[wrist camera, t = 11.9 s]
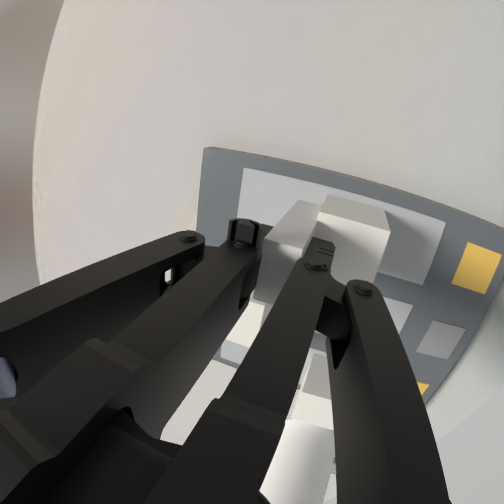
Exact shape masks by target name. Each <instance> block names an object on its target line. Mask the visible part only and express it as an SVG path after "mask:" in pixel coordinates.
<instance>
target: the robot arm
mask: <svg viewBox="0 0 504 504" xmlns="http://www.w3.org/2000/svg"><path fill="white" fill-rule="evenodd" d="M321 207H322V206H321V205H318V204H314V203H310V202H306V201H303V200H298V201H297V202H296V203H295V204H294V205H293V206H292V208H291V209H290V210H289V211H288V212H287V213H286V214H285V215H284V216H283V218H282V219H281V220H280V221H279V222H278V223H277V224H276V225H275V226H270V225H266V224H263V223H262V224H260V223H258V222H256V221H254V220H250V219H245V218H236V219H231V220H229V226H228V234H227V240H226V241H225V242H224V243H223V244H221V245H220V246H219V247H215V246H207V245H205V239H206V238H205V237H204V235H202V234H200V233H197V232H195V231H191V230H187V231H180V232H176V233H174V234H171V235H168V236H165V237H162V238H160V239H157V240H154V241H151V242H149V243H146V244H143V245H141V246H138V247H135V248H133V249H130V250H127V251H125V252H122V253H120V254H117V255H114V256H112V257H109V258H107V259H104V260H101V261H99V262H96V263H94V264H91V265H89V266H86V267H84V268H81V269H79V270H76V271H74V272H71V273H69V274H67V275H64V276H62V277H59V278H57V279H54V280H52V281H50V282H47V283H45V284H43V285H40V286H38V287H36V288H33V289H31V290H29V291H27V292H24V293H22V294H19V295H17V296H15V297H13V298H10V299H8V300H6V301H4V302H2V303H0V504H271V503H270V502H269V501H268V500H267V498H266V497H265V496H264V495H263V494H262V493H261V492H260V491H259V490H260V488H261V486H262V484H263V481H264V479H265V476H266V474H267V472H268V469H269V467H270V464H271V462H272V459H273V457H274V454H275V452H276V449H277V446H278V444H279V441H280V439H281V436H282V433H283V430H284V427H285V420H286V418H287V415H288V412H289V409H290V406H291V404H292V401H293V398H294V395H295V392H296V389H297V386H298V383H299V380H300V377H301V374H302V371H303V368H304V365H305V361H306V358H307V355H308V352H309V349H310V345H311V342H312V339H313V335H314V332H315V330H316V331H318V332H320V333H321V334H323V335H325V336H327V337H326V341H325V345H326V353H327V362H328V372H329V381H330V392H331V403H332V415H333V428H334V443H335V460H336V483H337V504H452V503H451V501H450V500H449V497H448V491H447V487H446V483H445V478H444V473H443V469H442V465H441V461H440V457H439V453H438V449H437V445H436V442H435V438H434V435H433V431H432V428H431V424H430V421H429V418H428V414H427V411H426V408H425V405H424V402H423V399H422V396H421V393H420V390H419V387H418V384H417V381H416V378H415V375H414V373H413V370H412V367H411V364H410V362H409V359H408V356H407V354H406V351H405V349H404V346H403V344H402V341H401V339H400V336H399V334H398V331H397V329H396V326H395V324H394V321H393V319H392V317H391V314H390V312H389V310H388V307H387V305H386V303H385V300H384V298H383V296H382V294H381V292H380V290H379V289H378V288H377V287H376V286H374V285H373V284H372V283H370V282H368V281H363V280H357V279H354V280H350V281H348V282H347V284H346V285H344V284H342V283H340V282H338V281H337V280H335V279H334V278H333V277H332V275H331V265H332V261H333V257H334V253H335V248H336V247H335V246H334V244H333V242H330V241H326V240H323V239H319V238H316V237H313V236H314V232H315V228H316V224H317V218H318V214H319V211H320V209H321ZM169 269H171V280H170V281H168V282H165V272H166V271H167V270H169ZM253 290H254V294H253V299H255V300H258V301H261V302H264V303H267V304H270V305H273V307H272V308H271V310H270V312H269V314H268V316H267V318H266V319H265V321H264V323H263V325H262V327H261V329H260V330H259V332H258V334H257V336H256V338H255V339H254V341H253V343H252V345H251V346H250V348H249V350H248V352H247V354H246V355H245V357H244V359H243V361H242V362H241V364H240V366H239V368H238V369H237V371H236V373H235V374H234V376H233V378H232V380H231V381H230V383H229V385H228V386H227V388H226V390H225V392H224V393H223V395H222V396H221V397H220V398H219V399H217V398H215V399H213V400H212V401H211V403H210V404H209V405H208V407H207V408H206V410H205V411H204V413H203V414H202V416H201V418H200V419H199V421H198V422H197V424H196V426H195V427H194V429H193V430H192V432H191V433H190V435H189V436H188V438H187V440H186V441H185V443H184V444H183V446H182V445H178V444H174V443H170V442H166V441H163V440H160V437H161V433H162V431H163V429H164V427H165V425H166V424H167V422H168V421H169V419H170V418H171V417H172V415H173V414H174V412H175V411H176V410H177V408H178V407H179V405H180V404H181V403H182V401H183V400H184V398H185V397H186V395H187V394H188V393H189V391H190V390H191V388H192V387H193V385H194V384H195V383H196V381H197V380H198V378H199V377H200V375H201V374H202V373H203V371H204V370H205V368H206V367H207V365H208V364H209V362H210V361H211V359H212V358H213V357H214V355H215V354H216V352H217V351H218V349H219V348H220V346H221V345H222V343H223V342H224V340H225V339H226V337H227V336H228V335H229V333H230V332H231V330H232V329H233V327H234V326H235V324H236V323H237V321H238V320H239V318H240V317H241V315H242V314H243V312H244V311H245V309H246V308H247V306H248V305H249V301H250V295H251V293H252V291H253Z"/></svg>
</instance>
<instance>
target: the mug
mask: <svg viewBox="0 0 504 504" xmlns="http://www.w3.org/2000/svg"><path fill="white" fill-rule="evenodd" d="M334 458H335V443H334V431H333V430H331V429H327V428H323V427H320V426H316V425H312V424H309V423H305V422H301V421H298V420H295V419H286V420H285V427H284V430H283V433H282V436H281V439H280V441H279V444H278V446H277V449H276V452H275V454H274V457H273V459H272V462H271V464H270V467H269V469H268V472H267V474H266V476H265V479H264V481H263V484H262V486H261V488H260V490H259V491H260V492H261V493H262V494H263V495H264V496H265V497H266V498H267V500H268V501H269V502H270V503H271V504H322V503H323V500H324V496H325V493H326V489H327V485H328V482H329V478H330V474H331V473H334V474H336V464H335V463H333V462H334Z"/></svg>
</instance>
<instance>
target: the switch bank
mask: <svg viewBox="0 0 504 504" xmlns="http://www.w3.org/2000/svg"><path fill="white" fill-rule="evenodd" d="M327 195H332V196H335V197H339V198H343V199H347V200H350V201H354V202H357V203H361V204H364V205H368V206H371V207H375V208H378V209H382V210H384V211H385V214H386V218H387V221H388V225H389V228H390V235H389V238H388V241H387V244H386V247H385V250H384V253H383V256H382V259H381V262H380V265H379V268H378V271H377V273H376V276H375V279H374V282H373V285H374V286H376V287H377V288H378V289H379V290H380V292H381V294H382V296H383V298H384V300H385V303H386V305H387V307H388V310H389V312H390V314H391V317H392V319H393V321H394V324H395V326H396V329H397V331H398V334H399V336H400V339H401V341H402V344H403V346H404V349H405V351H406V354H407V356H408V359H409V362H410V364H411V367H412V370H413V373H414V375H415V378H416V381H417V384H418V387H419V390H420V393H421V396H422V399H423V402H424V404H425V403H426V402H427V401H428V399H429V398H430V397H431V396H432V394H433V393H434V392H435V390H436V389H437V388H438V386H439V385H440V384H441V382H442V381H443V380H444V378H445V377H446V376H447V374H448V373H449V371H450V370H451V368H452V367H453V366H454V364H455V363H456V361H457V360H458V358H459V357H460V355H461V354H462V352H463V351H464V349H465V347H466V346H467V344H468V343H469V341H470V339H471V338H472V336H473V334H474V333H475V331H476V329H477V328H478V326H479V324H480V322H481V321H482V319H483V317H484V315H485V313H486V311H487V310H488V308H489V306H490V304H491V302H492V300H493V298H494V296H495V294H496V292H497V290H498V288H499V286H500V283H501V281H502V279H503V277H504V228H502V227H500V226H497V225H495V224H492V223H490V222H488V221H485V220H483V219H480V218H478V217H475V216H473V215H470V214H468V213H465V212H463V211H460V210H457V209H455V208H452V207H449V206H446V205H444V204H441V203H438V202H435V201H432V200H429V199H426V198H424V197H421V196H418V195H414V194H411V193H408V192H405V191H402V190H399V189H396V188H392V187H389V186H386V185H382V184H379V183H376V182H372V181H369V180H365V179H361V178H358V177H354V176H350V175H347V174H343V173H339V172H335V171H331V170H327V169H323V168H319V167H314V166H310V165H306V164H301V163H297V162H292V161H288V160H283V159H278V158H273V157H268V156H263V155H257V154H252V153H247V152H241V151H235V150H229V149H223V148H216V147H208V148H204V150H203V159H202V169H201V179H200V190H199V202H198V214H197V227H196V232H197V233H200V234H202V235H204V237H205V238H206V239H205V245H207V246H215V247H219V246H220V245H221V244H223V243H224V242H225V241H226V240H227V234H228V226H229V220H231V219H236V218H245V219H250V220H254V221H256V222H258V223H260V224H262V223H263V224H266V225H270V226H275V225H276V224H277V223H278V222H279V221H280V220H281V219H282V218H283V216H284V215H285V214H286V213H287V212H288V211H289V210H290V209H291V208H292V206H293V205H294V204H295V203H296V202H297V201H298V200H303V201H306V202H310V203H314V204H318V205H321V206H322V205H323V203H324V201H325V199H326V197H327ZM326 337H327V336H325V335H323V334H321V333H320V332H318V331H316V330H315V332H314V335H313V339H312V342H311V345H310V349H309V352H308V355H307V358H306V361H305V365H304V368H303V371H302V374H301V377H300V380H299V383H298V386H297V389H299V390H300V387H301V384H302V381H303V379H304V376H305V374H306V371H307V369H308V366H309V364H310V361H311V359H312V356H313V354H314V355H317V356H320V357H324V358H327V353H326V345H325V341H326ZM248 350H249V347H246V346H243V345H240V344H237V343H235V342H232V341H229V340H226V339H225V340H224V342H223V343H222V345H221V346H220V348H219V349H218V351H217V352H216V354H215V355H214V357H213V358H212V359H213V360H216V361H219V362H221V363H224V364H226V365H229V366H232V367H234V368H237V369H238V368H239V366H240V364H241V362H242V361H243V359H244V357H245V355H246V354H247V352H248Z"/></svg>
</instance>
